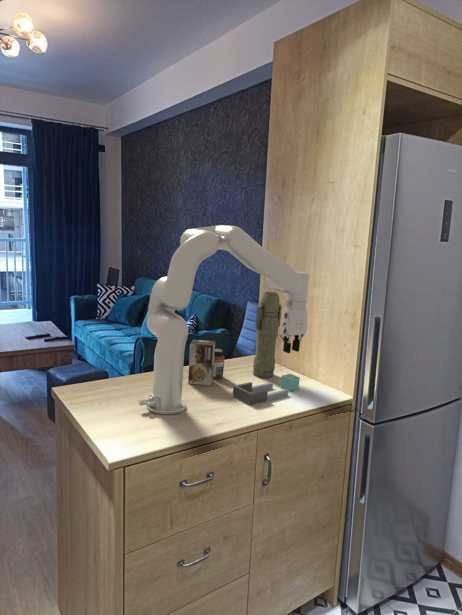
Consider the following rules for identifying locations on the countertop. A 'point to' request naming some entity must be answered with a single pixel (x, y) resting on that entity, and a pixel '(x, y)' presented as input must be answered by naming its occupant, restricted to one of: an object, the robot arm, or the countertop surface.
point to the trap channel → (256, 393)
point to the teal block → (290, 382)
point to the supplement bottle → (218, 364)
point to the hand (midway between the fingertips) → (291, 351)
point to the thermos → (266, 334)
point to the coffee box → (201, 362)
